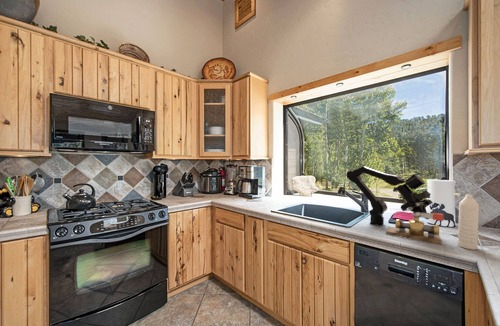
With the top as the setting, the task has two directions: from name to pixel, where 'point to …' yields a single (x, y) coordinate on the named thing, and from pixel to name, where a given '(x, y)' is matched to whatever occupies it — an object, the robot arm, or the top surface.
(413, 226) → the valve body
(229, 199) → the top surface
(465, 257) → the top surface
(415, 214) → the valve lever
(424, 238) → the valve board
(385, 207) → the robot arm
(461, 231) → the water bottle
